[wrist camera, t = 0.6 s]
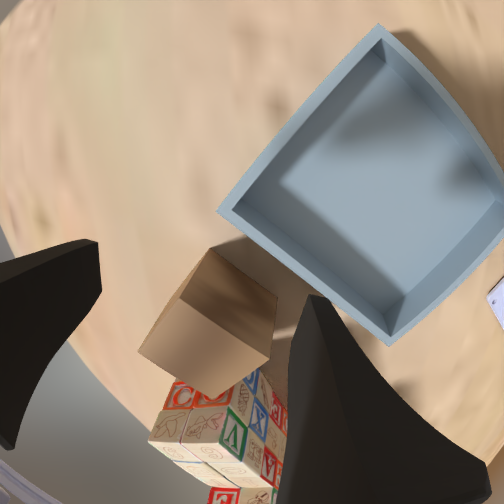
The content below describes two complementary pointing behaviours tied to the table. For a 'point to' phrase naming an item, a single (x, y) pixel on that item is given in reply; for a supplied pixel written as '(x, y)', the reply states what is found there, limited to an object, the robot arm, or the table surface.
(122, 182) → the table surface
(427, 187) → the tray
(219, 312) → the walnut block
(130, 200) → the table surface
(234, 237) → the table surface
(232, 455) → the stack of blocks
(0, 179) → the table surface
